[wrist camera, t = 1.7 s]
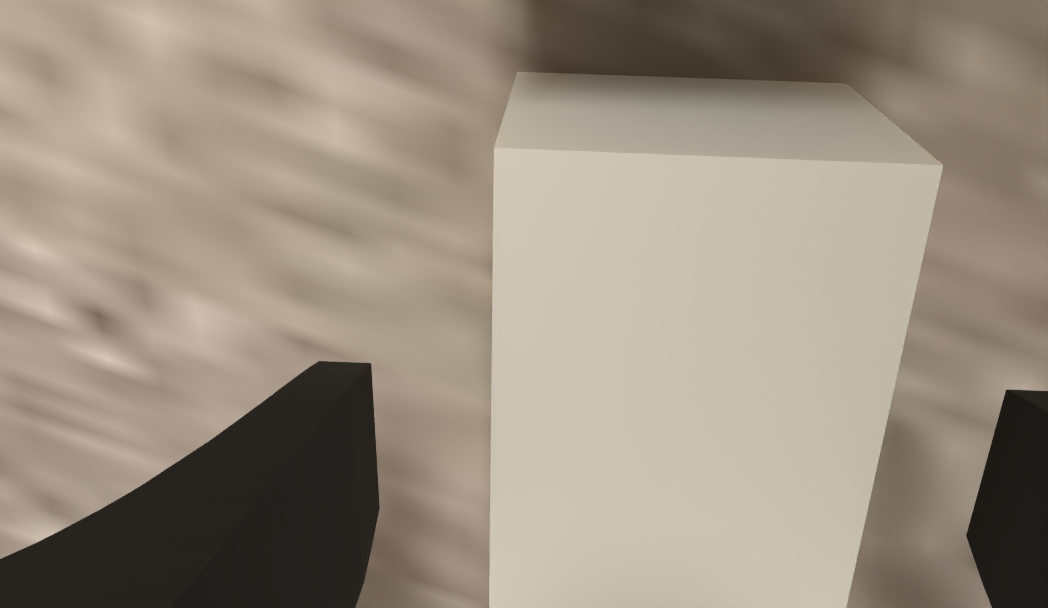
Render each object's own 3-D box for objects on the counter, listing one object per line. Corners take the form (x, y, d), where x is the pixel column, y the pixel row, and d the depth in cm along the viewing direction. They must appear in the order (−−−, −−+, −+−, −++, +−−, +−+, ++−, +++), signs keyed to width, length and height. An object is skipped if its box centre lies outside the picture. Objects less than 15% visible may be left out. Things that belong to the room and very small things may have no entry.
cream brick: (774, 495, 16) (830, 681, 12) (509, 481, 16) (488, 659, 13) (843, 80, 13) (943, 164, 9) (518, 68, 13) (494, 147, 10)
